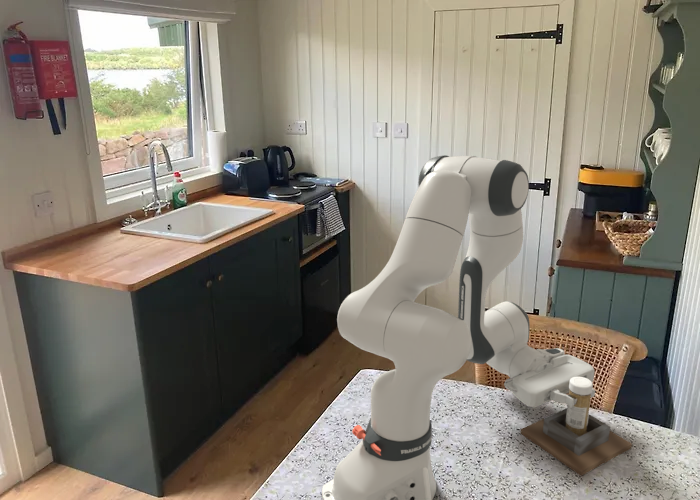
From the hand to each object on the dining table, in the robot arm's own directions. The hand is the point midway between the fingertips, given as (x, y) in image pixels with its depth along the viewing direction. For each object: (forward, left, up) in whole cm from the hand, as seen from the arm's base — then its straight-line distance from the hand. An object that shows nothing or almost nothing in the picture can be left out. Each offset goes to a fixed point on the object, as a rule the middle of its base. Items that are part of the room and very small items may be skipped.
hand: (583, 398), depth 120 cm
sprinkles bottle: (0, +1, -10) cm, 10 cm away
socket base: (0, +1, -11) cm, 11 cm away
